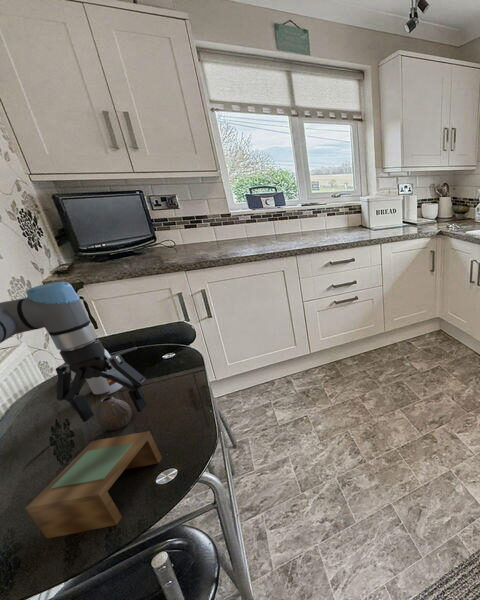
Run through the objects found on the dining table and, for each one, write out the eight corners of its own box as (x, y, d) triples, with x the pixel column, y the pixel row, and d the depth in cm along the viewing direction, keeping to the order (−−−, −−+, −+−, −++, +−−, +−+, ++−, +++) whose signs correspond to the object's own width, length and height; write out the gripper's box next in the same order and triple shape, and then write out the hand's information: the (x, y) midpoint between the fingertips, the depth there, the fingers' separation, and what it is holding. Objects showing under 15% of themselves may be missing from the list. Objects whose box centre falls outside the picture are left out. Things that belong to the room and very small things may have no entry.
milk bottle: (103, 399, 102) (74, 342, 95) (89, 395, 105) (60, 340, 98) (129, 384, 109) (104, 330, 102) (115, 381, 112) (90, 329, 105)
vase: (104, 425, 90) (90, 399, 86) (135, 413, 94) (122, 387, 90) (103, 438, 84) (88, 411, 81) (136, 425, 88) (123, 398, 85)
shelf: (46, 539, 60) (24, 507, 57) (107, 468, 75) (91, 440, 72) (116, 525, 61) (98, 493, 58) (162, 457, 76) (149, 430, 73)
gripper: (141, 329, 85) (171, 396, 92) (37, 345, 82) (76, 412, 90) (123, 342, 78) (156, 413, 85) (8, 360, 75) (53, 432, 83)
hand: (115, 413), depth 88 cm, fingers open, 13 cm apart
